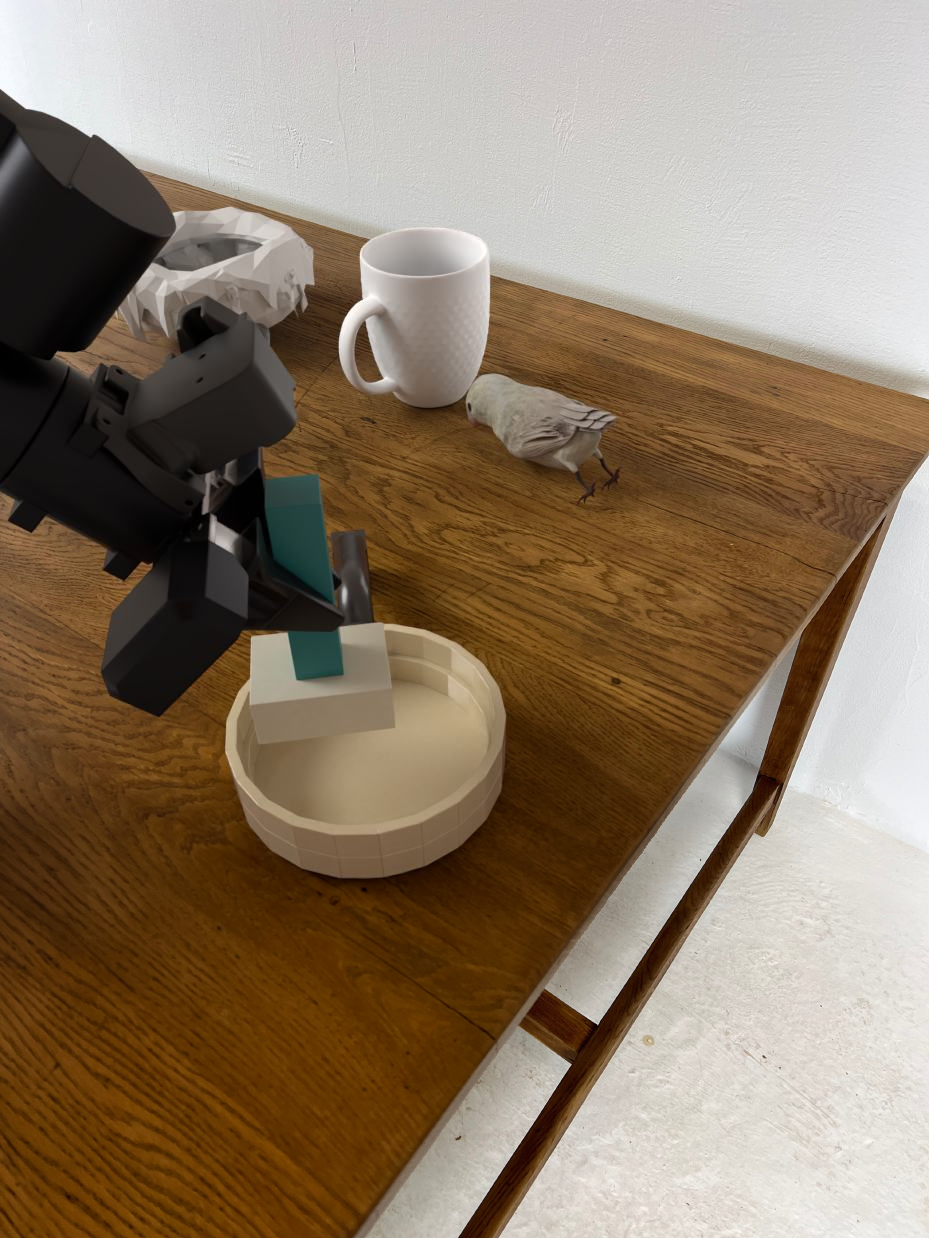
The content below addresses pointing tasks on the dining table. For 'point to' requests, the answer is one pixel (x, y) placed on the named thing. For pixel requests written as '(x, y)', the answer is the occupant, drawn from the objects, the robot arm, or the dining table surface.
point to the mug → (421, 314)
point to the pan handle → (353, 576)
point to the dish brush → (314, 639)
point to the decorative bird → (540, 424)
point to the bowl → (222, 271)
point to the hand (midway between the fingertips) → (338, 605)
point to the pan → (381, 769)
